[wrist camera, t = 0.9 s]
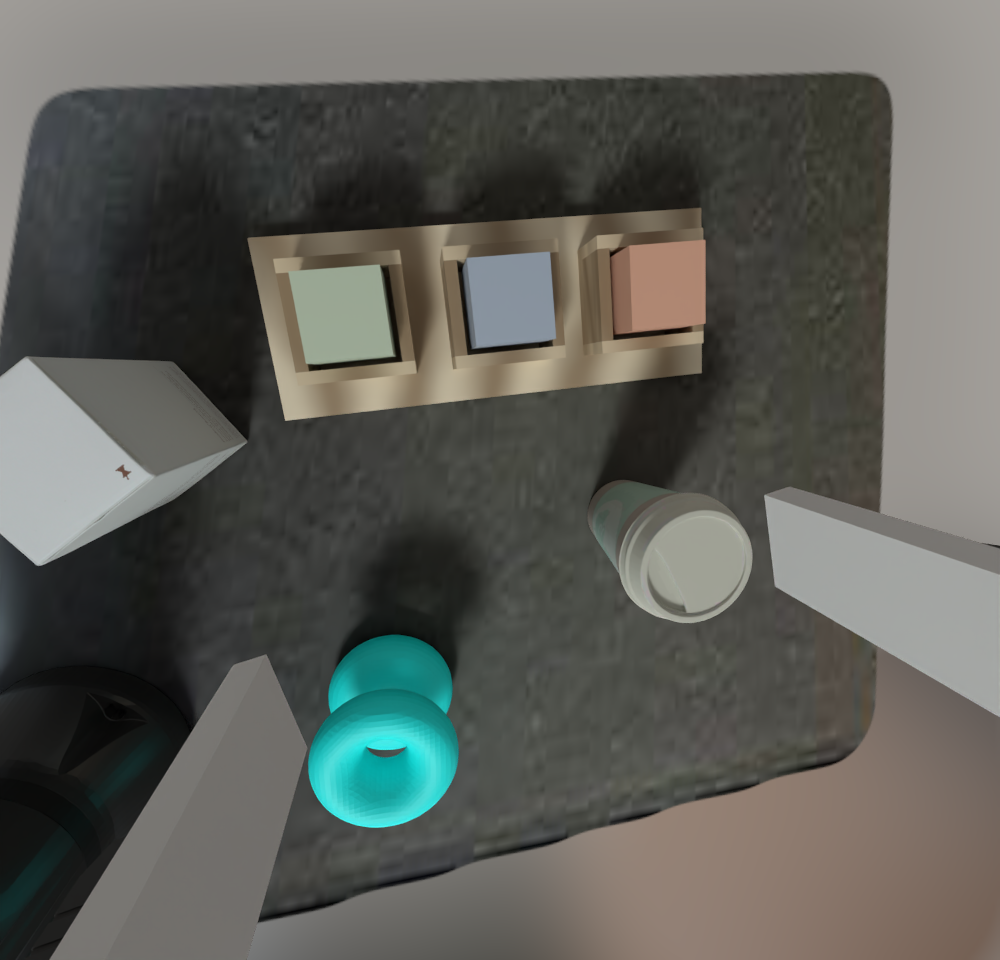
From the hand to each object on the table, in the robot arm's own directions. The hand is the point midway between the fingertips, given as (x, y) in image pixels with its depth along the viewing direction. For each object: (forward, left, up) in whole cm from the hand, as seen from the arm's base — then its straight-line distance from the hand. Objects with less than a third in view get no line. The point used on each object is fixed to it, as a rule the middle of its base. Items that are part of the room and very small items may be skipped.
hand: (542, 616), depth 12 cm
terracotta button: (+14, +10, -23) cm, 29 cm away
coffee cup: (+13, -7, -27) cm, 30 cm away
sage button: (-6, +10, -23) cm, 26 cm away
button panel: (+4, +10, -26) cm, 28 cm away
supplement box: (-20, +4, -27) cm, 34 cm away
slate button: (+4, +10, -23) cm, 25 cm away
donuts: (-8, -19, -27) cm, 34 cm away
